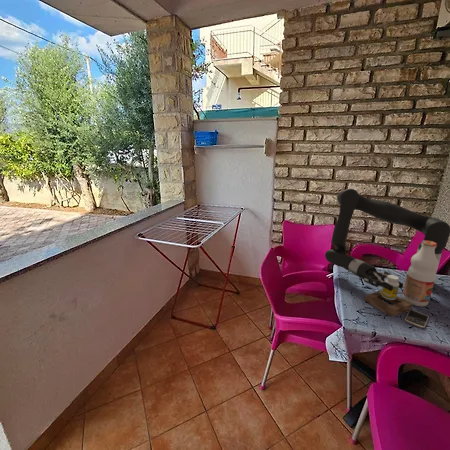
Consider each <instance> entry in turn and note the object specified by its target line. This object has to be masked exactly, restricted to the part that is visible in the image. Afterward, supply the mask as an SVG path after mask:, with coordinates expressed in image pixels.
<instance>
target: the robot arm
mask: <svg viewBox="0 0 450 450" xmlns="http://www.w3.org/2000/svg"><path fill="white" fill-rule="evenodd" d="M336 199H337V203H338V204H339V206H340V207H339V213H338V217H337V220H336V222H335V225H334V227H333V230H332V231H333V232H332V236H331V242H330V243H331V244H332V245H334V247H335V248H334V249H331V248H330V249H328V250H327V251H325V253H324V257H325V260H326V261H327V262H328V263H329V264H332V265H335V266H337V267H340V268H344V269H345V270H347V271H348V272H350V273H352V274H353V275H354V276H356V277H358V278H360V279H362V280H363V282H365V283H367V284H369V285H371V286H373V287H376V288H378V287H381V288H383V287H384V288H386V289H388V290H390V291H392V290H393V286H392V285H390V284H388V283H386V282H384V280H385V279H387V275H393V274H392V273H390V272H388V271H386V270H385V271H383V272H381V271H377V268H376V267H375V266H373V265H371V264H369V263H367V262H365V261H363V260H361V259H358V258H356V257H354V256H351V255H348V254H347V246H346V245H347V244H346V243H347V238H348V235H349V229H350V225H351V221H352V218H353V215H354V212H355V210H357V211H361V212H363V213H365V214H368V215H370V216H371V217H374V218H376V219H378V220H381V221H384V222H387V223H390V224H393V225H400V226H406V227H409V228H412V229H414V230H417V231H419V232H420V233H422V234H424V238H423V241H425V240H426V241H432V242H435V243H437V246H436V248H435V256H436V258H437V260H438V262H439V263H440V262H441V261H440V260H441V257H442V254H443V250H444V249H445V248H446V246H447V244H448V241H449V238H450V225H449V223H447V222H446V221H443V220H442V219H439V218H437V217H431V216H428V215H423V214H419V213H416V212H414V211H412V210H409V209H408V208H405V207H403V206H400V205H398V204H394V203H392V202H388V201H386V200H380V199H375V198H369V197H365V196H363V195H361V194H359V192H358V191H357V190H356V189H354V188H347V189H343V190H341V191H340V192H338V194H337V196H336ZM421 243H422V242H420V243H419V244H418V246H417V250H416V253H418V252H419V250H420V249H421V247H422V245H421ZM438 268H439V266H438V267H437V269H436V270H435V273H436V274H437V272H438ZM398 283H399V288H398V289H402V288H403V289H404V283H403V282H401V281H399V280H398Z"/></svg>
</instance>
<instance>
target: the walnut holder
mask: <svg viewBox="0 0 450 450" xmlns="http://www.w3.org/2000/svg"><path fill="white" fill-rule="evenodd" d="M381 293H382V290H378V291H376V292H371V293H368V294H365V298H364V301H365V302H366V303H367V304H370V305H371V306H373V307H375V308H376V309H378V310H379V311H381V312H383V313H384V314H385V315H387V316H389V317H391V318H392V317H395V316H398V315H401V314H404V313H407V312H409V311H410V309H412V307H413V305H412V304H411V303H409V302H407V301H405V300H404V299H403V298H401V297H399V296H398V295H397V296H396V299H395V300H389V299H386V298H384V297H383V296H382V295H381ZM385 301H387V302H389V303H387V302H385Z"/></svg>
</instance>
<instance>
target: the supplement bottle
mask: <svg viewBox="0 0 450 450" xmlns="http://www.w3.org/2000/svg"><path fill="white" fill-rule="evenodd" d="M399 279H400V277H398V276H397V275H394V274H392V275H387V279H386V278H385V279H384V282H386V283H388V284H390V285H392V286H393V290H392V291H390V290H388V289H386V288H384V287H382V290H381V291H382V293H381V295H382V296H383V297H384V298H386V299H389V300H395V299H396V296H398V292H399V289H400V288H399V283H398V281H399Z"/></svg>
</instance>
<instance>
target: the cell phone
mask: <svg viewBox="0 0 450 450" xmlns="http://www.w3.org/2000/svg"><path fill="white" fill-rule="evenodd" d="M429 317H430V316H429V314H425V313H423V312H419V311H416V310H414V309H412V308H411V309H410V311H408V313H407V315H406V316H405V318H404V322H405V323H407V324H409V325H412V326H414V327H417V328H419V329H424V328H425V327H426V325H427V323H428V321H429Z"/></svg>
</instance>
